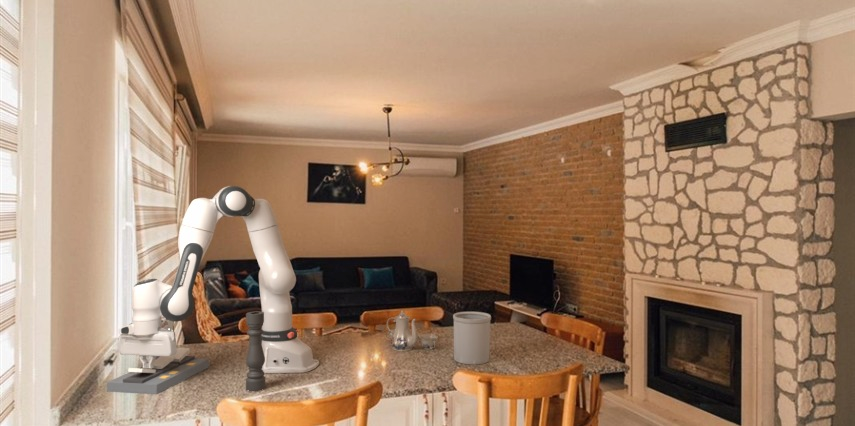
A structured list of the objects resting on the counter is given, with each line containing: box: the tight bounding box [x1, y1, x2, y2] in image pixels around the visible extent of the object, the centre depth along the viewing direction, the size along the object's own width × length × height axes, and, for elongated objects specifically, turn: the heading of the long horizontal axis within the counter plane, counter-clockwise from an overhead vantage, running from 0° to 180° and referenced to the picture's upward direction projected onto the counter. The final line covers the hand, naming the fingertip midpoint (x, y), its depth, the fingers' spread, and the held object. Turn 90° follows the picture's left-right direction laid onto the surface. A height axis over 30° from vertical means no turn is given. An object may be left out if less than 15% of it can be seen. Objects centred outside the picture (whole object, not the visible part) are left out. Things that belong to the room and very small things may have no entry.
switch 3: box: [172, 347, 191, 362], centre depth 200 cm, size 5×7×1 cm
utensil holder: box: [452, 311, 492, 365], centre depth 211 cm, size 15×15×18 cm
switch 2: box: [151, 356, 174, 369], centre depth 190 cm, size 5×7×1 cm
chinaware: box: [385, 310, 440, 352], centre depth 231 cm, size 28×17×17 cm, turn 58°
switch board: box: [106, 355, 210, 395], centre depth 190 cm, size 18×30×4 cm, turn 171°
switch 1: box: [127, 367, 156, 373], centre depth 180 cm, size 5×7×1 cm
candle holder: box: [245, 310, 266, 392], centre depth 179 cm, size 6×6×25 cm
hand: (148, 367), depth 184 cm, fingers closed
